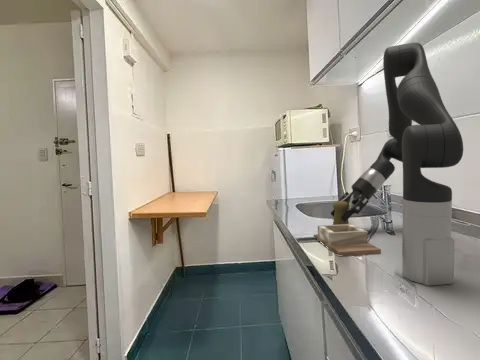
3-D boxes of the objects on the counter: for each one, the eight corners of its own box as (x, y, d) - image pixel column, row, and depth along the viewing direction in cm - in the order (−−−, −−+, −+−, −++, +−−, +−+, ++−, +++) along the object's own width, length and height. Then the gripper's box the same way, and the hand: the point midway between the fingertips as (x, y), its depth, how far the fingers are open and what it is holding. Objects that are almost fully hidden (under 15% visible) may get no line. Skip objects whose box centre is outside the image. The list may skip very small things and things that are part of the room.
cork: (352, 234, 113) (352, 202, 112) (334, 234, 113) (334, 202, 113) (346, 230, 119) (346, 199, 118) (330, 230, 119) (329, 200, 119)
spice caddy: (381, 253, 91) (381, 236, 90) (339, 256, 89) (338, 239, 89) (348, 236, 110) (348, 222, 110) (313, 238, 109) (313, 224, 109)
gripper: (351, 175, 123) (322, 207, 122) (371, 178, 109) (338, 214, 108) (365, 189, 124) (336, 221, 123) (386, 193, 110) (353, 229, 109)
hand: (337, 217), depth 116 cm, fingers open, 8 cm apart
